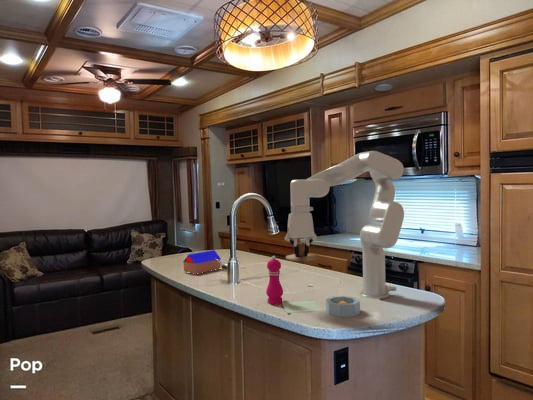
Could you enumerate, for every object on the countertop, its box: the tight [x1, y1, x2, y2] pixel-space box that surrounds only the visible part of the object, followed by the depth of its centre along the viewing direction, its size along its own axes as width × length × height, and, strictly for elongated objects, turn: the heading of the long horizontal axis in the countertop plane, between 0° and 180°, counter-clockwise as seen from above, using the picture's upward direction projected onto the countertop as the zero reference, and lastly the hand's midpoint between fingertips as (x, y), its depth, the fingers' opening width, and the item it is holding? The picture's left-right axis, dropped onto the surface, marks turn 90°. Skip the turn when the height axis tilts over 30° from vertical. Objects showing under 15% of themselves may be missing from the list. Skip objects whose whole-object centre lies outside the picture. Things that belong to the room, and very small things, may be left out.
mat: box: [281, 300, 324, 315], centre depth 158 cm, size 14×14×1 cm
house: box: [182, 249, 222, 275], centre depth 238 cm, size 12×20×12 cm, turn 138°
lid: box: [285, 243, 318, 262], centre depth 157 cm, size 13×13×6 cm
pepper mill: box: [265, 255, 284, 305], centre depth 166 cm, size 7×7×20 cm
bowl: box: [325, 295, 361, 318], centre depth 149 cm, size 12×12×5 cm
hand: (301, 255), depth 157 cm, fingers closed on lid, 3 cm apart
